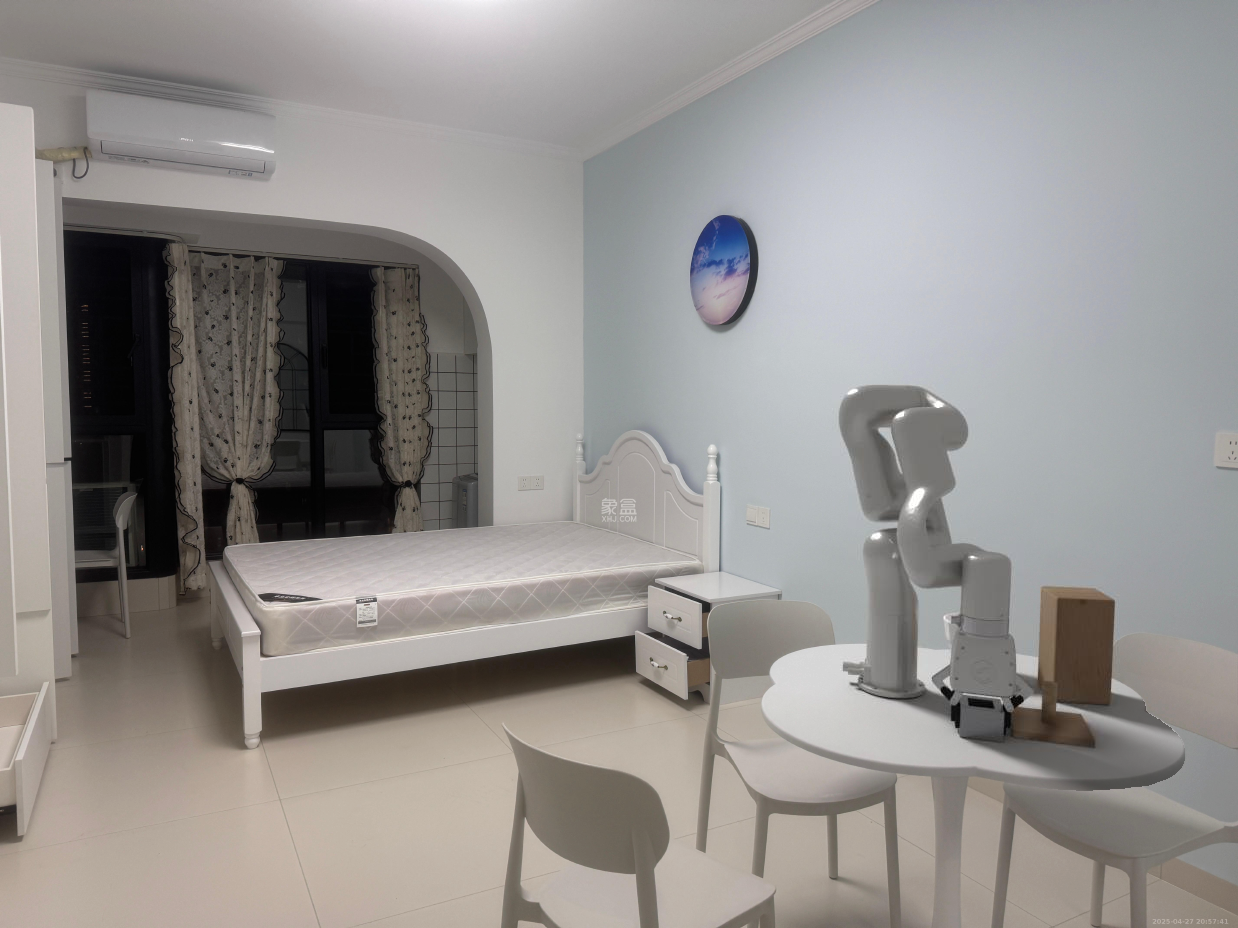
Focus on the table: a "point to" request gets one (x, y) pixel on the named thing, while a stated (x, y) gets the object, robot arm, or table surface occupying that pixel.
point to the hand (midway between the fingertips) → (979, 727)
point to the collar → (981, 718)
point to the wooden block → (1076, 643)
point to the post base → (1051, 732)
